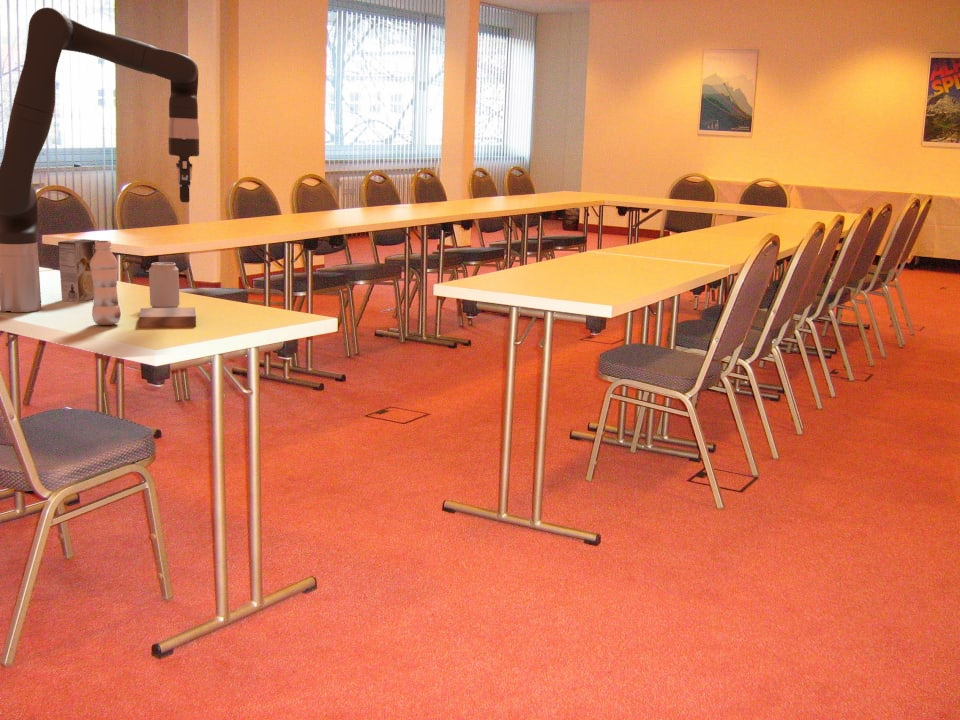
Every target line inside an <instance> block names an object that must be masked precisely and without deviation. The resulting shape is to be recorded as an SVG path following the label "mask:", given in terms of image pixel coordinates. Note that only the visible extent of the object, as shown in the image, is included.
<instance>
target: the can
mask: <svg viewBox="0 0 960 720" xmlns="http://www.w3.org/2000/svg"><path fill="white" fill-rule="evenodd" d="M148 281H149V282H148V283H149V304H150V307H151V308H179V306H180V304H181V303H180V302H181V301H180V276H179V268H178V267H177V266H176V263H175V262H171V261H170V262H169V261H168V262H167V261H159V262H152V263H151V264H150V268H149V269H148Z"/></svg>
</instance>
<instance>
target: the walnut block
mask: <svg viewBox="0 0 960 720" xmlns="http://www.w3.org/2000/svg"><path fill="white" fill-rule="evenodd" d="M138 325H139V326H138V327H139V328H179V327H180V328H181V327H182V328H183V327H185V328H186V327H188V328H189V327H190V328H191V327H197V316H196V307H177V308H153V307H146V308H145V307H144V308H143V307H142V308H140V311H139V315H138Z"/></svg>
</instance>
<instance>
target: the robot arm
mask: <svg viewBox="0 0 960 720" xmlns="http://www.w3.org/2000/svg"><path fill="white" fill-rule="evenodd" d="M27 30H28V31H27V39H26V49H25V57H24V63H23V66H22V69H21V73H20V76H19V78H18V83H17V87H16V91H15V93H14V94H15V95H14V97H13V102H12V106H11V110H10V115H9V121H8V125H7V132H6V138H5V144H4V150H3V151H4V152H3V156H2V160H1V163H0V312H6V311H11V312H10V313H28V312H36V311H40V310H42V296H41V294H42V292H41V280H40V279H41V278H40V264H39V263H40V262H39V261H40V260H39V247H38V231H39V218H38V217H39V212H38V211H39V210H38V199H37V197H38V196H37V193H36V189H35V187H34V186H33V185H32V181H33V176H34V171H35V166H36V163H37V160H38V157H39V156H40V154H41V151H42V149H43V147H44V145H45V142H46V140H47V138H48V136H49V132H50V129H51V126H52V120H53V117H54V113H55V106H56V77H57V76H56V73H57V68H58V63H59V60H60V57H61V54H62V51H68V52H69V51H70V52H75V53H81V54H86V55H88V56H94V57H96V58H99V59H102V60H106V61H108V62H111V63H112V64H116V65H119V66H122V67H124V68H128V69H130V70H134V71H137V72H139V73H144V74H149V75H155V76H157V77H160V78H163V79H165V80H167V81H168V80H169V81H170V95H169V96H170V97H169V100H168V114H169V115H168V124H167V125H168V127H167V128H168V129H167V132H168V134H167V136H168V154H169V155H170V156H177V157H178V158H179V159H178V161H177V162H176V163H175V169H176V176H177V177H176V178H177V180H178V186H179V199H180V202H181V203H189V202H190V188H191V181H192V176H193V175H192V172H193V163H191V161H190V157H198V156H200V126H199V117H198V116H199V115H198V114H199V108H198V107H199V105H198V104H199V103H198V92H199V91H198V89H199V68H198V65H197V63H196V62H195V61H194V60H193V59H192V58H190V57H189V56H188V55H186V54H183V53H178V52H176V51H175V52H174V51H172V50H166V49H163V48H158V47H156V46H154V45H152V44H149V43H146V42H143V41H140V40H137V39H136V40H135V39H132V38H130V37H126V36H122V35H121V36H120V35H116V34H113V33H107V32H104V31H100V30H96V29H94V28H91V27H89V26H86V25H84V24H82V23H80V22H77V21H76V20H73V19H72V18H70V17H68V16H67V15H66V14H64V13H63V12H61V11H59V10H57V9H55V8H52V7H42V8H39V9H37V10H36V11H34V13H33V14H32V15H31V17H30V19H29V23H28V29H27Z"/></svg>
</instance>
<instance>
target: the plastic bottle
mask: <svg viewBox="0 0 960 720" xmlns="http://www.w3.org/2000/svg"><path fill="white" fill-rule="evenodd" d="M95 249H96V252H95V254H94V255H93V257H92V259H91V261H90V268H91V274H92V280H93V286H94V288H93V289H94V299H92V300H93V305H92V311H91V312H92V313H91V316H92V320H93V322H94V324H97V325H101V326H106V327H107V326H112V325H115V324H119V322H120V320H121V309H120V305H119V297H118V283H117V282H118V281H117V280H118V270H119V262H118V260H117V259H118V258H116V256H115V255H114V254H113V252H112V250H113V249H112V241H111V240H99V241H95Z"/></svg>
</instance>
